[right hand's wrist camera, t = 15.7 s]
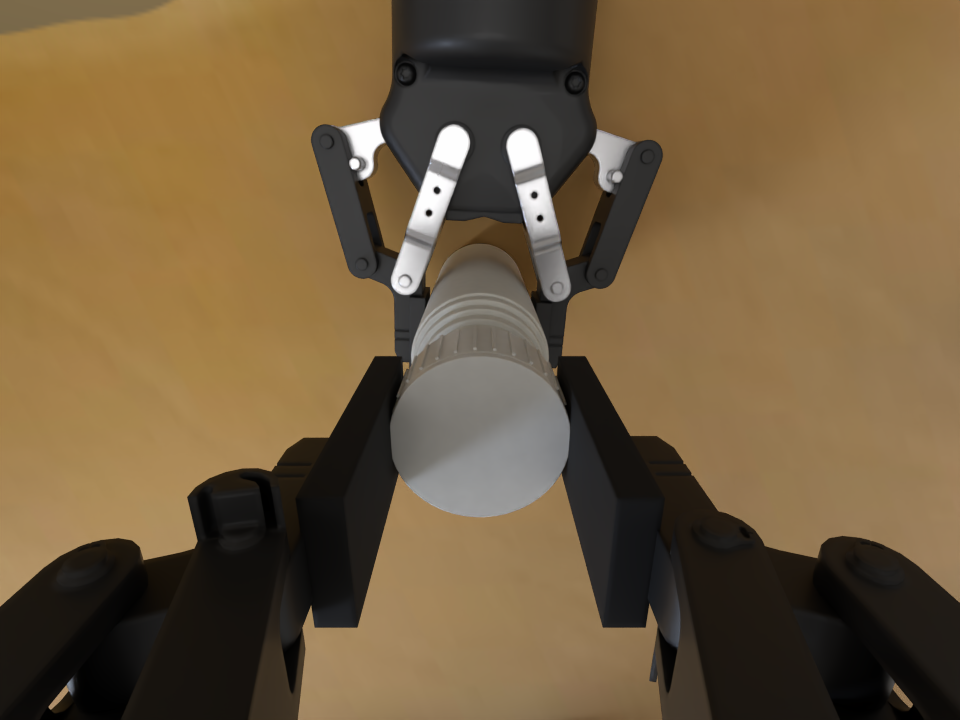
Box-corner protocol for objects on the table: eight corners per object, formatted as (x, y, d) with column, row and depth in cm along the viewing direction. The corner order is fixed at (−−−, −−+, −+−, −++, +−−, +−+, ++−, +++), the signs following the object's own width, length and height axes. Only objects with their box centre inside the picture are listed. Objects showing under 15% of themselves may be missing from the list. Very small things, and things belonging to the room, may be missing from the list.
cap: (447, 491, 16) (442, 544, 13) (370, 368, 14) (350, 404, 12) (584, 432, 15) (602, 477, 13) (517, 296, 13) (524, 320, 11)
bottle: (460, 339, 30) (437, 537, 14) (423, 265, 29) (348, 391, 12) (535, 305, 29) (603, 473, 13) (501, 228, 28) (530, 310, 12)
